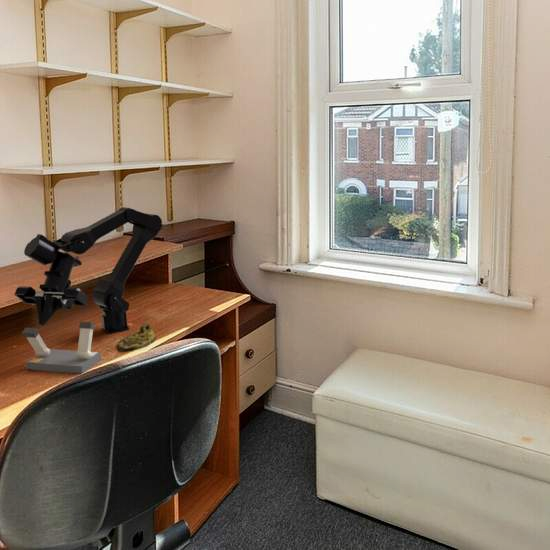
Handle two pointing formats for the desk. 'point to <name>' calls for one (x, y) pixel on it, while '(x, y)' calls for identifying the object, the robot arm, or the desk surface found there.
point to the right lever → (85, 340)
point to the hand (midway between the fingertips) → (41, 325)
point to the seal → (138, 339)
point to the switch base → (63, 362)
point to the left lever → (36, 341)
